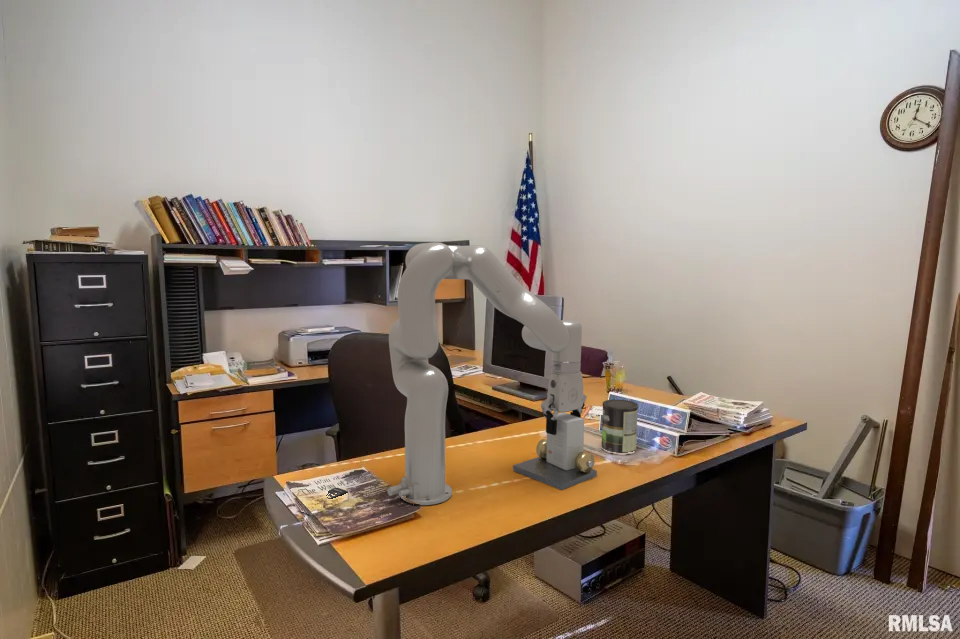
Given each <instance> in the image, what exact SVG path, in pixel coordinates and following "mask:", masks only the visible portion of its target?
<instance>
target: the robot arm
mask: <svg viewBox="0 0 960 639" xmlns="http://www.w3.org/2000/svg"><path fill="white" fill-rule="evenodd" d="M404 262H405V266H406V268H405V270H404V271H403V274H402V276H401V277H400V280H399V282H398V288H397V307H398V308H397V310H398V319H396V320H395V321H394V322H393V324H392V325H391V327H390V330H389V333H388V345H389V346H388V348H389V355H390V364H391V371H392V372H391V373H392V378H393V382H394V385H395V387H396V389H397V390H398V391H399V392H400V393H401V394H402V395H403V396H404V397H406V398H407V399H406V409H405V413H404V414H405V415H404V460H405V461H404V464H405V465H404V467H405V468H404V470H405V472H404V475H405V476H404V477H401V482H399V483H398V484H397V485H394V486H390V487H388V488H387V490H386V491H387V494H388V496H389V497H393V496H394V495H398V497H399V496H400V497H402V496H406V498H407V499H408V500H410V501H413V502H415V503H418V504H420V505H419V506H431V505H437V504H440V503H444V502H446V501H447V500H449V499H450V498H451V497H452V494H453V493H452V492H453V490H452V487H451V486H450V485H449V484H447V483H446V410H447V402H448V396H449V385H448V384H449V383H448V379H447V378H446V376H445V374H444V373H443V372H442V371H441V369H440V368H438V367H436V366H435V365H432V364H430V363H429V359H431V358H432V357H433V356H434V355H435V354H436V353H437V351H438V349H439V342H440V338H439V330H438V321H437V312H436V292H437V289H438V287H439V284H440V283H441V282H442V281H443V280H469V281H470V282H471V283H472V284H473V285H474V287H476V288H477V289H478V291H479V292H481V294H482V295H483V296H484V297H485V298H486V299H487V300H488V301H489V303H490V304H492V307H494V308H495V309H496V310H498V311H499V312H501V313H502V314H503V315H506V316H507V317H509V318H511V319H514V320H516V321H517V322H519V323H521V324H522V325H523V327H522V330H521V337H522V340H523V342H524V343H525V344H526V345H528V346H529V347H530V348H534V349H537V350H541V351H544V352H549V353H551V366H550V368H551V372H550V375H549V380H548V386H547V393H546V394H547V398H546V399H545V400H543V402H542V403H540V408H541V410H542V414H543V416H544V419H545V432H546V434H547V433H549V434H552V435H556V433H557V420H555V419H556V417H557V415H558V414H559V413H567V412H570V413H569V414H570V415H573V416H576V417H579V418H582V417H581V416H582V414H583V411H584V410H583V409H584V407H585V403H586V400H587V395H585V394H584V380H583V373H582V371H581V364H582V363H581V360H582V359H581V358H582V341H583V340H582V337H583V326H582V324H581V322H580V321H576V320H570V319H569V320H568V319H567V320H566V319H560V317H559V316H558V315H557V314H556V313H555V312H554V310H553V309H551V307H550V306H548V305H547V304H546V303H545V302H543V301H542V300H541V299H540V298H538V297H537V296H536V295H535V294H533V293H532V292H530V290H528V289H527V288H525V287H524V286H523V285H522V284H521V283H520V282H519V281H518V279H516V278H515V276H514V275H513V273H511V271H509V269H508V268H507V267H506V266H505V265H504V264H503V262H502V261H501V260H500V259H499V258H498V257H497V256H496V254H494V252H493V251H492V250H491V249H489V247H486V246H484V245H480V244H478V245H447V244H445V243H442V242H439V241H438V242H437V241H436V242H424V243H423V242H422V243H418V244H417V243H416V244H415V245H413V246H412V247H411V248H409V250H408V251H407V252H406V255H405V260H404ZM552 412H553V413H552ZM400 497H399V498H400Z"/></svg>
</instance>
